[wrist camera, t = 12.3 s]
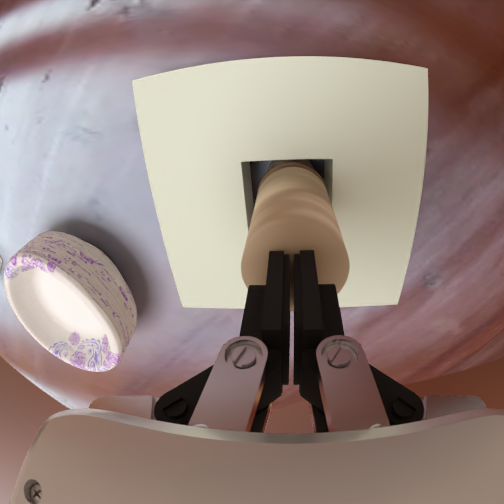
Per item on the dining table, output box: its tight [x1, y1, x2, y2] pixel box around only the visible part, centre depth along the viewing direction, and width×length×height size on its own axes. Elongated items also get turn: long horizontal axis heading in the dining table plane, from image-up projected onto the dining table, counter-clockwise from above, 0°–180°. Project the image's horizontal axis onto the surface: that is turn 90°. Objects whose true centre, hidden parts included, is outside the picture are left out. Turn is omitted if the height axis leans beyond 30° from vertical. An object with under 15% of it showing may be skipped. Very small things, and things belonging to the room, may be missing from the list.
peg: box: [241, 159, 350, 311], centre depth 16 cm, size 4×4×12 cm
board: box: [132, 56, 428, 309], centre depth 20 cm, size 18×18×4 cm
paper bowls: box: [4, 231, 137, 372], centre depth 26 cm, size 15×15×8 cm
